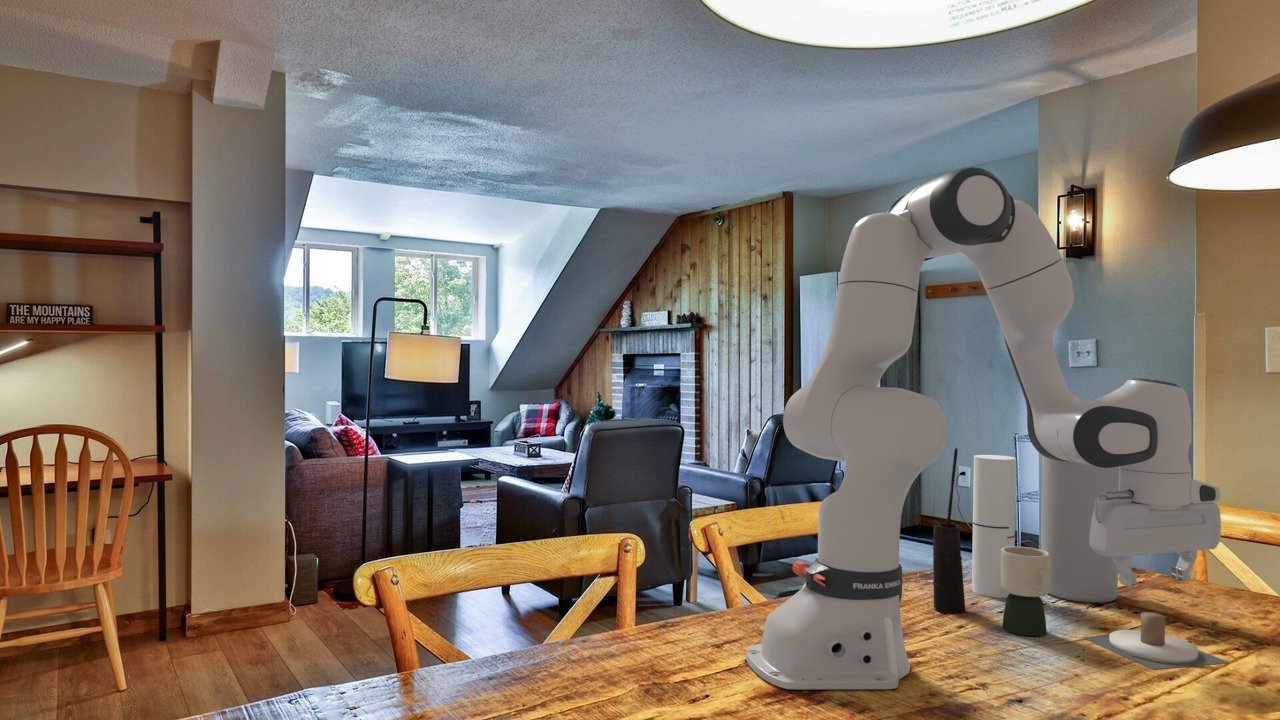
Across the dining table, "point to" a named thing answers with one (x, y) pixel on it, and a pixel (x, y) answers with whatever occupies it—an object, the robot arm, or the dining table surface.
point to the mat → (1202, 660)
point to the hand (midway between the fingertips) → (1154, 582)
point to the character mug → (1025, 589)
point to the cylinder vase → (1076, 530)
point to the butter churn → (948, 562)
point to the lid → (1153, 642)
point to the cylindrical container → (992, 520)
